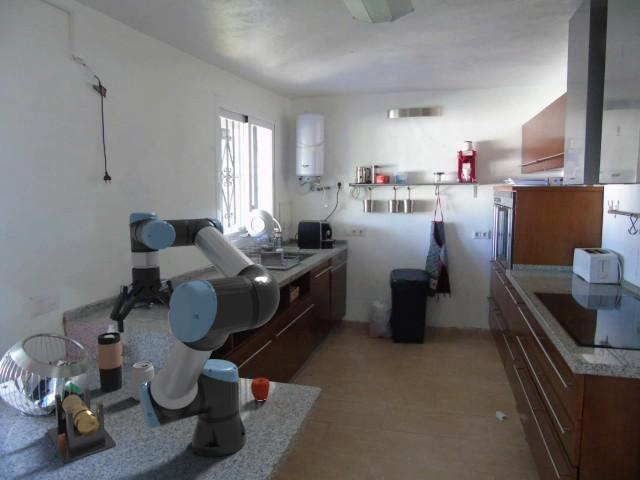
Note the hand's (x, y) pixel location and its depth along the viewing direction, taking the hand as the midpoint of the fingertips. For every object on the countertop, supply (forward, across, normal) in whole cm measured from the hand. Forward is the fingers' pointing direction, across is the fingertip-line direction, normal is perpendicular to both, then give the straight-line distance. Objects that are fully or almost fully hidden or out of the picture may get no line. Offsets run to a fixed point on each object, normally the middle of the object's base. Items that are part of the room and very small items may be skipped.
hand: (149, 338), depth 132 cm
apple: (+29, -36, +3) cm, 46 cm away
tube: (+24, +18, -11) cm, 32 cm away
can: (+29, -7, -27) cm, 40 cm away
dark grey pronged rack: (+29, +17, -11) cm, 35 cm away
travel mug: (+29, -1, -43) cm, 52 cm away
